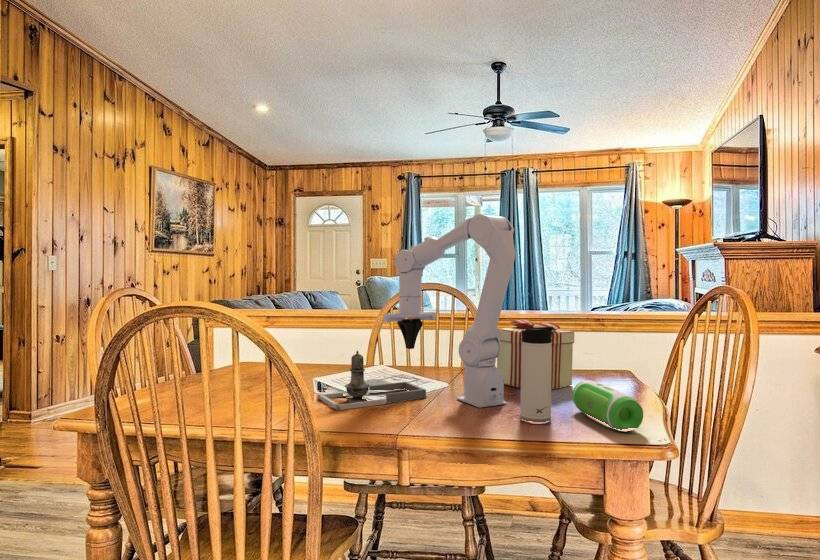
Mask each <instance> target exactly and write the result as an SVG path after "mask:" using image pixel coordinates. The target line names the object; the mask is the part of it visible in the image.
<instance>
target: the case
mask: <svg viewBox="0 0 820 560" xmlns="http://www.w3.org/2000/svg"><path fill="white" fill-rule="evenodd" d="M369 385H370V387H369V388H368V391H369V390H394V389H404V388H405V389H407V390H409V391H405V390H403V391H394V392H386V394H385V402H386V401H387V402H386V403H388V404H389V403H397V402H404V401H412V400H418V399H419V400H420V399H426V398H427V389H426V388H423V387H420V386H419V385H415V384H413V383H410V382H407V381H399V382H397V381H396V382H390V383H382V384H380V383H379V384H373V385H372V384H369Z"/></svg>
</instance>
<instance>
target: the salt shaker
mask: <svg viewBox="0 0 820 560" xmlns="http://www.w3.org/2000/svg"><path fill="white" fill-rule="evenodd" d="M350 362H351V363H350V364H351V368H350V369H349V371H350V382H349V383H348V384H345V386H344V387H345V389H346V391H347V393H348V394H349V395H350V396H349V397H348V398H347V399H346V402H347V403H356V402H364V401H367V400H366V399H362V397H366V396H367V394H368V393H369V387H370V385H371V384H369V383H366V382H365V375H364V374H365V371H366V369H365V368H364V356H363V355H362V354H360V352H359V350H356V352H355V354H353V355H352V356H351V361H350Z"/></svg>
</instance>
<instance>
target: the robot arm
mask: <svg viewBox="0 0 820 560" xmlns="http://www.w3.org/2000/svg"><path fill="white" fill-rule="evenodd" d="M514 232H515V228H514V226H513V225H512V224H511V222H510V221H509V219H508V218H506V217H504V216H501V215H498V216H497V215H496V216H495V215H487V214H483V213H478V214H475V215H473V216H472V217H469V218H467V219H465V221H463V222H462V223H461V224H460V225H457V226H456V227H455V228H453V229H451V230H449V231H448V232H447V233H445V234H444V235H442V236H440V237H436V236H426V237H425V238H424V239H423V240H424V241H422V242H420V243H419V244H417V245H416V244H415V245H414V244H413V245H411V247H410V249H409V250H408V249H400V251H398V252H397V254H396V255H395V256H394V265H395V268H396V270H397V271H399V273H398V274H399V275H398V276H399V281H398V282H399V284H398V288H399V290H398V293H399V294H398V296H399V298H398V305H399V306H398V308H399V309H398V310H399V312H394V313H384V314H383V322H384V323H390V322H391V323H392V322H397V326H398V328H399V330H400V332H401V334H402V337H403V340H404V344H405V345H404V346H405V349H408V350H414V349H415V347H416V341H417V337H418V336H419V333H420V331H421V329H422V327H423V325H424V323H423V321H427V320H430V321H431V320H433V321H436V319H437V315H436V314H437V312H435V311H422V277H423V276H424V275H423V272H424V270H425V269H426V267H427V266H428V265H430V264H432V263H435V262H436V261H438V260H440V259H442V258H443V257H444V256H445V253H446V251H447V250H449V249H451V248H453V247H455V246H457V245H459V244H461V243H464V242H465V241H468V240H472V241H474V242H475V243H476V244H477V245H478V246H480V247H481V248H482V249H483V250H484V251H485V253H486V255H487V256H488V258H489V262H488V266H487V269H486V274H485V278H484V281H483V285H482V289H481V294H480V297H479V301H478V305H477V309H476V313H475V316H474V320H473V321H474V322H473V323H472V324H471V325H470V327H468V328H467V330H466V332H465V335H464V337H463V339H462V340H461V341H460V343H459V345H458V354H459V358H460V359H461V361H462V362H463V366H464V378H463V379H464V381H463V382H464V383H463V384H464V386H463V387H464V394H463V395H461V396H457V397H456V399H457V400H458V401H461V402H464V403H466V404H469V405H471V406H474V407H476V408H487V407H492V406H493V407H494V406H499V405H500V406H501V405H506V404H507V401H505V399H504V398H505V397H504V392H505V391H504V390H505V388H504V387H505V384H504V377H503V374H502V372H501V371H500V370H498V369H497V365H496V364H497V357H498V356H499V354H500V351H501V345H500V337H501V333H500V331H499V330H498V329H499V328H498V325H499V321H500V318H501V314H502V313H501V312H502V309H503V306H504V300H505V298H506V294H507V289H508V286H509V283H510V278H511V274H512V271H513V267H514V263H515V259H516V247H515V243H514V238H513V235H514Z"/></svg>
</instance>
